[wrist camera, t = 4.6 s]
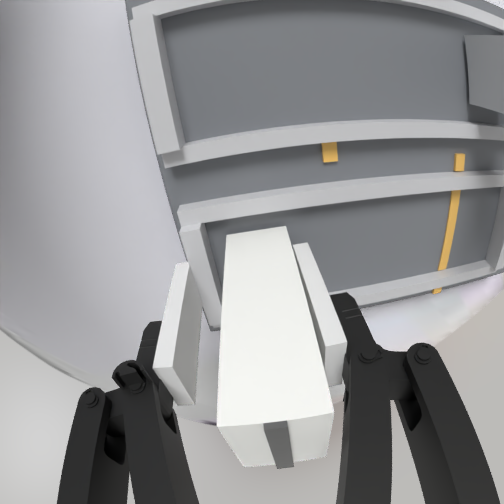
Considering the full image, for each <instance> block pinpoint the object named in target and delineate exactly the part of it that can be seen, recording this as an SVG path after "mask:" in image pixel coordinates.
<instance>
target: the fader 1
mask: <svg viewBox="0 0 504 504" xmlns="http://www.w3.org/2000/svg"><path fill="white" fill-rule="evenodd" d="M333 417H334V409H333V405H332V400H331V396H330V392H329V387H328V383H327V379H326V375H325V370H324V366H323V362H322V358H321V354H320V350H319V346H318V342H317V338H316V334H315V330H314V326H313V322H312V318H311V315H310V311H309V307H308V303H307V300H306V296H305V292H304V288H303V285H302V281H301V277H300V274H299V270H298V267H297V263H296V259H295V256H294V252H293V249H292V245H291V242H290V238H289V235H288V232H287V228H286V226H282V227H275V228H268V229H262V230H255V231H249V232H242V233H236V234H229V235H226V249H225V264H224V279H223V295H222V313H221V332H220V352H219V374H218V401H217V428H218V429H219V431H220V433H221V434H222V436H223V437H224V439H225V440H226V442H227V443H228V445H229V446H230V448H231V449H232V451H233V452H234V453H235V455H236V456H237V458H238V459H239V461H240V462H241V464H242V465H243V466H244V467H251V466H264V465H273V464H276V466H277V469H281V468H288V467H294V463H293V462H298V461H305V460H311V459H316V458H322V457H326V456H327V450H328V445H329V440H330V434H331V429H332V423H333Z"/></svg>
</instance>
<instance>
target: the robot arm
mask: <svg viewBox="0 0 504 504" xmlns="http://www.w3.org/2000/svg"><path fill="white" fill-rule="evenodd" d="M293 252H294V256H295V259H296V263H297V267H298V270H299V274H300V277H301V281H302V285H303V288H304V292H305V296H306V300H307V303H308V307H309V311H310V315H311V318H312V322H313V326H314V330H315V334H316V338H317V342H318V346H319V350H320V354H321V358H322V362H323V366H324V370H325V375H326V379H327V383H328V387H330V386H335V385H339V384H342V378H343V380H344V384H345V393H344V398H343V401H344V420H343V437H342V452H341V463H340V475H339V483H338V493H337V500H336V504H390V502H391V483H392V431H391V430H392V428H391V408H390V407H391V406H390V400H394V402H395V404H396V407H397V410H398V413H399V416H400V419H401V422H402V425H403V428H404V431H405V434H406V437H407V440H408V443H409V446H410V450H411V453H412V456H413V459H414V463H415V466H416V470H417V474H418V477H419V481H420V484H421V488H422V492H423V496H424V499H425V504H500V501H499V498H498V494H497V491H496V487H495V484H494V481H493V478H492V475H491V472H490V469H489V466H488V464H487V460H486V458H485V455H484V452H483V450H482V447H481V444H480V442H479V439H478V437H477V434H476V432H475V429H474V427H473V424H472V422H471V420H470V417H469V415H468V413H467V411H466V409H465V406H464V404H463V402H462V400H461V397H460V395H459V393H458V391H457V389H456V387H455V385H454V383H453V381H452V378H451V377H450V375H449V372H448V370H447V369H446V367H445V365H444V363H443V361H442V359H441V357H440V355H439V353H438V351H437V350H436V349H435V348H434V347H433V346H431V345H430V344H426V343H416V344H414V345H412V346H411V347H410V348H409V349H408V351H407V352H395V351H388V350H385V349H383V348H382V347H381V346H380V345H378V344H376V342H375V341H374V339H373V337H372V335H371V332H370V330H369V328H368V326H367V324H366V322H365V319H364V317H363V316H362V313H361V311H360V309H359V307H358V305H357V302H356V300H355V298H353V297H352V296H351V295H350V294H349V293H347V292H343V293H338V294H333V295H329V293H328V291H327V288H326V286H325V283H324V281H323V278H322V276H321V273H320V271H319V268H318V266H317V264H316V261H315V259H314V256H313V254H312V252H311V249H310V247H309V245H308V242H307V243H301V244H295V245H293ZM202 307H203V304H202V301H201V298H200V295H199V292H198V289H197V286H196V283H195V280H194V277H193V274H192V271H191V268H190V265H189V263H188V262H183V263H176V266H175V269H174V273H173V277H172V281H171V286H170V290H169V294H168V298H167V302H166V307H165V311H164V315H163V320H162V321H155V322H150V323H149V324H148V326H147V327H146V328H145V330H144V332H143V336H142V341H141V343H140V348H139V351H138V355H137V359H136V361H135V360H129V361H125V362H123V363H121V364H120V365H118V366H117V367H116V369H115V370H114V372H113V375H112V378H113V380H114V381H115V382H116V383H117V385H118V386H119V387H120V388H119V389H116V390H113V391H109V392H106V393H104V391H102V390H101V389H100V388H96V387H93V388H89V389H87V390H86V391H85V392H83V394H82V395H81V397H80V399H79V401H78V405H77V409H76V412H75V416H74V420H73V424H72V428H71V432H70V436H69V441H68V445H67V450H66V455H65V459H64V465H63V469H62V475H61V480H60V486H59V493H58V500H57V504H127V494H128V483H129V472H130V475H131V482H132V488H133V494H134V499H135V504H199V501H198V498H197V495H196V491H195V488H194V485H193V481H192V478H191V474H190V470H189V467H188V463H187V459H186V455H185V451H184V447H183V443H182V439H181V434H180V430H179V426H178V421H177V417H176V413H175V411H174V409H173V408H172V407H173V399H174V401H175V402H176V404H177V405H195V397H196V381H197V367H198V353H199V341H200V329H201V318H202Z"/></svg>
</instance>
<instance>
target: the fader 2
mask: <svg viewBox="0 0 504 504" xmlns="http://www.w3.org/2000/svg"><path fill="white" fill-rule="evenodd" d="M464 37H465V45H466V54H467V64H468V78H469V104H472V105H476V106H479V107H483V108H486V109H490V110H493V111H496V112H499V113H502V114H504V36H503V35H464Z"/></svg>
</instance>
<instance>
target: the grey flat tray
mask: <svg viewBox="0 0 504 504" xmlns="http://www.w3.org/2000/svg"><path fill="white" fill-rule="evenodd" d="M125 4H126V11H127V17H128V24H129V30H130V36H131V41H132V47H133V52H134V58H135V63H136V68H137V73H138V78H139V83H140V88H141V92H142V97H143V102H144V106H145V111H146V115H147V119H148V123H149V128H150V132H151V136H152V140H153V144H154V148H155V152H156V156H157V160H158V164H159V168H160V171H161V175H162V179H163V182H164V186H165V190H166V193H167V197H168V200H169V204H170V207H171V211H172V214H173V218H174V221H175V224H176V228H177V231H178V234H179V238H180V241H181V244H182V247H183V251H184V254H185V257H186V260H187V262H188V263H189V265H190V268H191V271H192V274H193V277H194V280H195V283H196V286H197V289H198V292H199V295H200V298H201V301H202V304H203V307H202V308H203V311H204V314H205V316H206V319H207V322H208V325H209V328H210V330H211V331H218V330H221V313H222V295H223V279H224V264H225V249H226V235H229V234H236V233H242V232H249V231H255V230H262V229H268V228H275V227H282V226H286V228H287V232H288V235H289V238H290V242H291V245H292V249H293V245H295V244H301V243H307V242H308V245H309V247H310V249H311V252H312V254H313V256H314V259H315V261H316V264H317V266H318V268H319V271H320V273H321V276H322V278H323V281H324V283H325V286H326V288H327V291H328V293H329V295H333V294H338V293H343V292H347V293H349V294H350V295H351V296H352V297H353V298H355V300H356V302H357V305H358V307H359V309H361V308H366V307H370V306H375V305H380V304H385V303H389V302H394V301H398V300H403V299H407V298H411V297H415V296H420V295H424V294H428V293H433V294H436V293H440V292H441V290H444V289H447V288H451V287H455V286H459V285H462V284H466V283H469V282H473V281H476V280H480V279H483V278H487V277H490V276H493V275H497V274H500V273H503V272H504V114H502V113H499V112H496V111H493V110H490V109H486V108H483V107H479V106H476V105H472V104H469V78H468V64H467V54H466V45H465V37H464V35H503V36H504V9H502V8H500V7H498V6H496V5H493V4H491V3H489V2H487V1H484V0H125Z"/></svg>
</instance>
